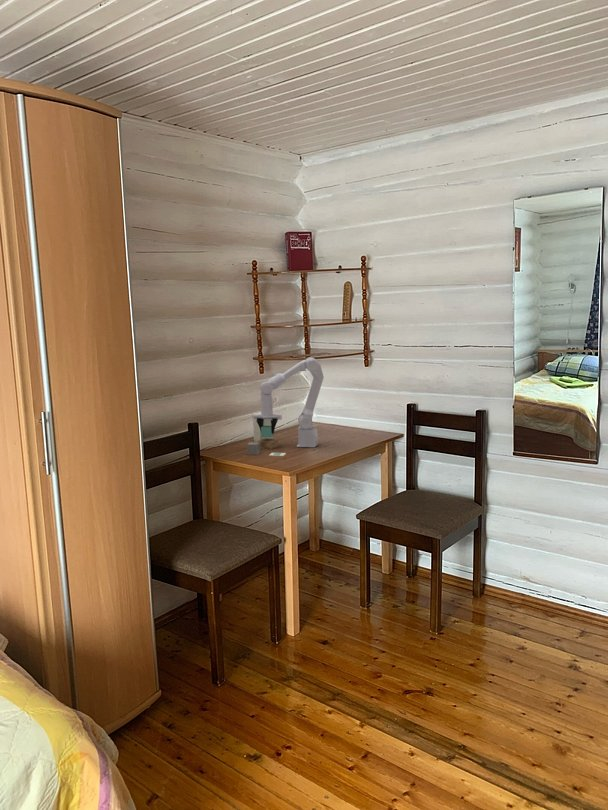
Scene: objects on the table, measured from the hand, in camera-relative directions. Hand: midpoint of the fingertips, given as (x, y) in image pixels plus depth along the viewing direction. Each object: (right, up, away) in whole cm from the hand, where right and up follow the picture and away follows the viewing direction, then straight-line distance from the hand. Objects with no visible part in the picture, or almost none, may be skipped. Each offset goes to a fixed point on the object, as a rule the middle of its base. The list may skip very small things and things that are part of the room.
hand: (267, 433), depth 327 cm
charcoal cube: (-6, -9, -12) cm, 16 cm away
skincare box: (-3, -5, +14) cm, 15 cm away
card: (+6, -9, -15) cm, 19 cm away
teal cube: (0, -1, 0) cm, 2 cm away
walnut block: (0, -7, +1) cm, 7 cm away
